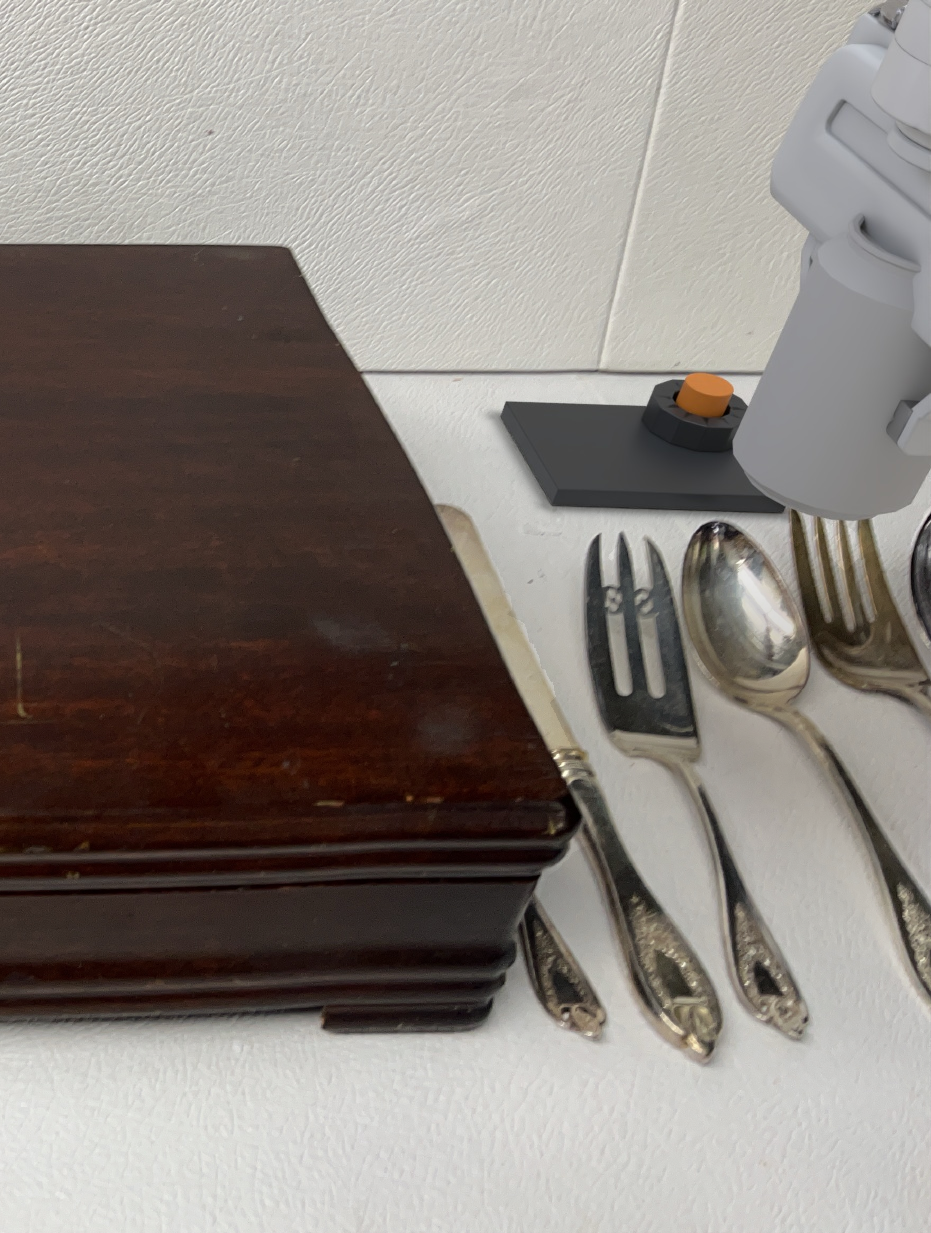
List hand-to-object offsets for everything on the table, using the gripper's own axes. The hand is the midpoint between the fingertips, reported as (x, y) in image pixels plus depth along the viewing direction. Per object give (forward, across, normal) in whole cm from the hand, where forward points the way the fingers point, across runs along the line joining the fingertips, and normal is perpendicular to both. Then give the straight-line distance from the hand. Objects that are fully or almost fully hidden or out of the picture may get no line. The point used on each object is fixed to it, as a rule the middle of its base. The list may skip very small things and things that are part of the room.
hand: (859, 391), depth 68 cm
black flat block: (+20, -24, +6) cm, 32 cm away
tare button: (+17, -26, +10) cm, 33 cm away
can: (+5, 0, 0) cm, 5 cm away
